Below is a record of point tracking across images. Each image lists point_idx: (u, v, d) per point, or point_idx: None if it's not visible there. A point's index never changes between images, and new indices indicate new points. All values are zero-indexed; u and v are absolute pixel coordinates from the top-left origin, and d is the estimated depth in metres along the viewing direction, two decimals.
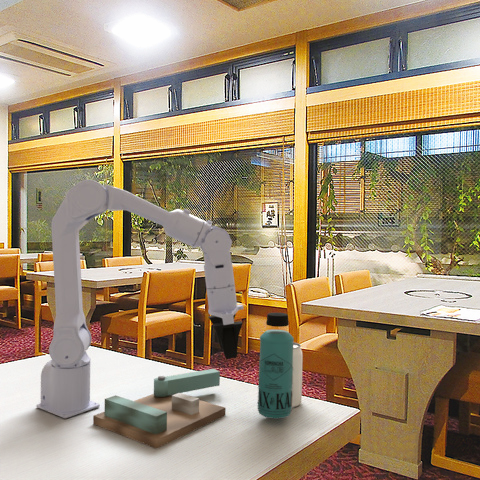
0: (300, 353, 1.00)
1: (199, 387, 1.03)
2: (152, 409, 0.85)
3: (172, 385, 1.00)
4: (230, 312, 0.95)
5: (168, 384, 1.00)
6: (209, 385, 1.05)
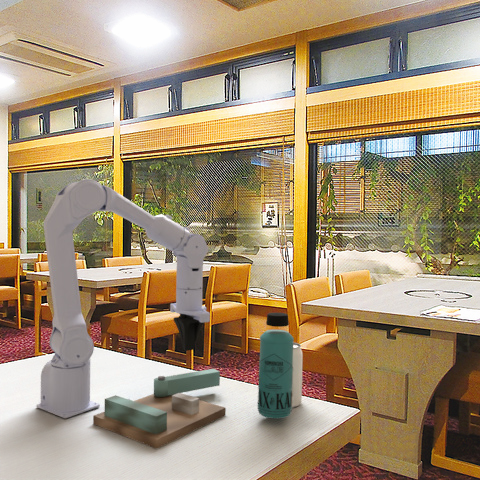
0: (300, 353, 1.00)
1: (199, 387, 1.03)
2: (152, 409, 0.85)
3: (172, 385, 1.00)
4: (203, 311, 1.06)
5: (168, 384, 1.00)
6: (209, 385, 1.05)
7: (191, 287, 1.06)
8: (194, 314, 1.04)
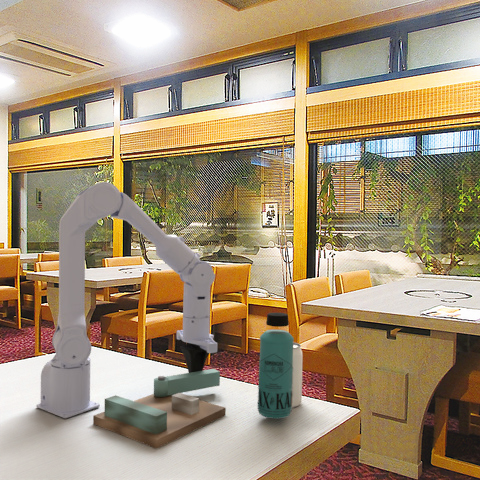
0: (300, 353, 1.00)
1: (199, 387, 1.03)
2: (152, 409, 0.85)
3: (172, 385, 1.00)
4: (210, 341, 1.03)
5: (168, 384, 1.00)
6: (209, 385, 1.05)
7: (196, 316, 1.04)
8: (201, 344, 1.02)
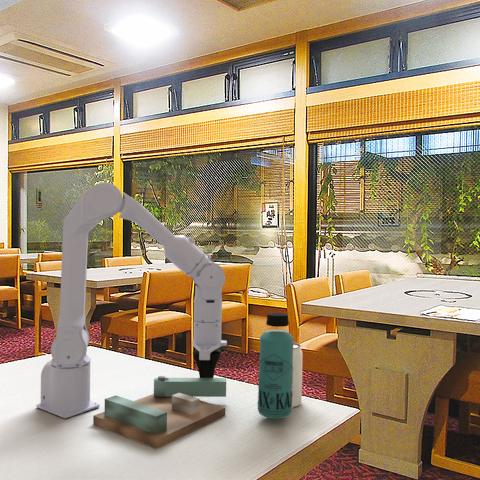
0: (300, 353, 1.00)
1: (201, 394, 0.99)
2: (152, 409, 0.85)
3: (170, 387, 0.99)
4: (209, 348, 0.97)
5: (166, 386, 0.99)
6: (213, 394, 0.99)
7: (205, 320, 0.99)
8: (198, 349, 0.97)
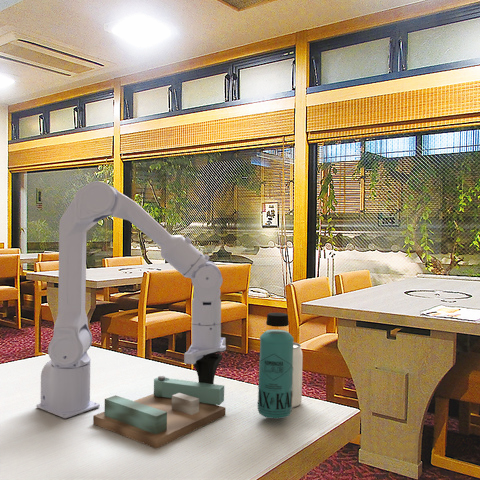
0: (300, 353, 1.00)
1: None
2: (152, 409, 0.85)
3: (166, 388, 0.98)
4: (199, 352, 0.94)
5: (163, 386, 0.98)
6: (207, 401, 0.95)
7: (202, 323, 0.96)
8: None
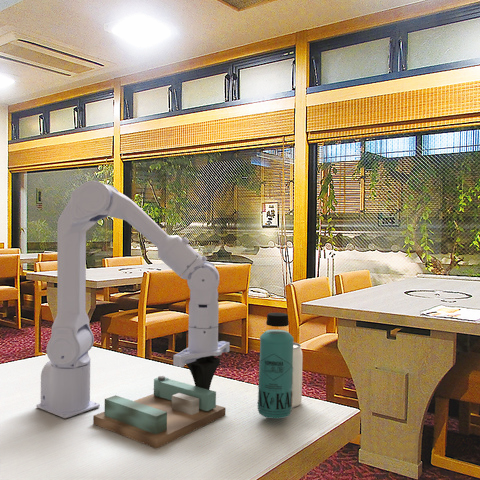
0: (300, 353, 1.00)
1: None
2: (152, 409, 0.85)
3: (163, 388, 0.98)
4: (189, 355, 0.92)
5: (160, 386, 0.98)
6: None
7: (197, 326, 0.93)
8: None
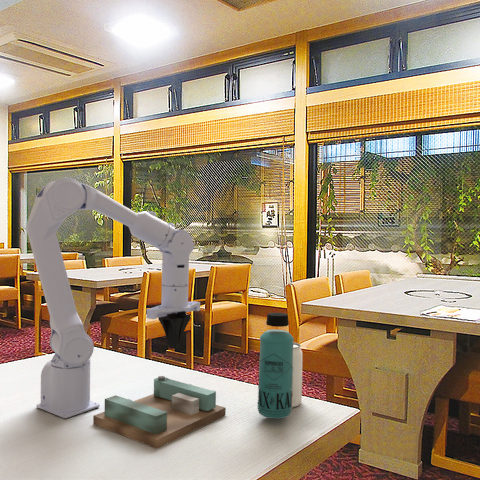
0: (300, 353, 1.00)
1: None
2: (152, 409, 0.85)
3: (163, 388, 0.98)
4: None
5: (160, 386, 0.98)
6: None
7: (176, 284, 1.04)
8: None
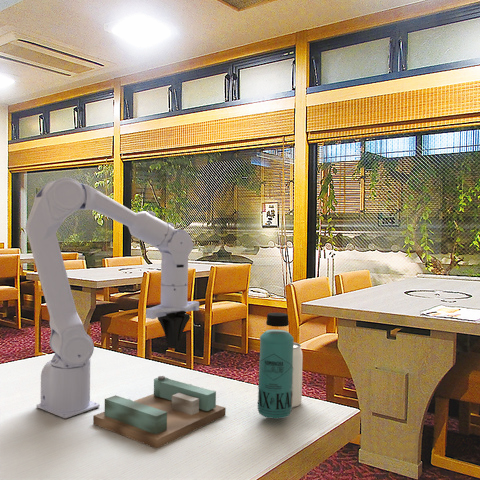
0: (300, 353, 1.00)
1: None
2: (152, 409, 0.85)
3: (163, 388, 0.98)
4: (161, 309, 1.03)
5: (160, 386, 0.98)
6: None
7: (176, 284, 1.04)
8: None
